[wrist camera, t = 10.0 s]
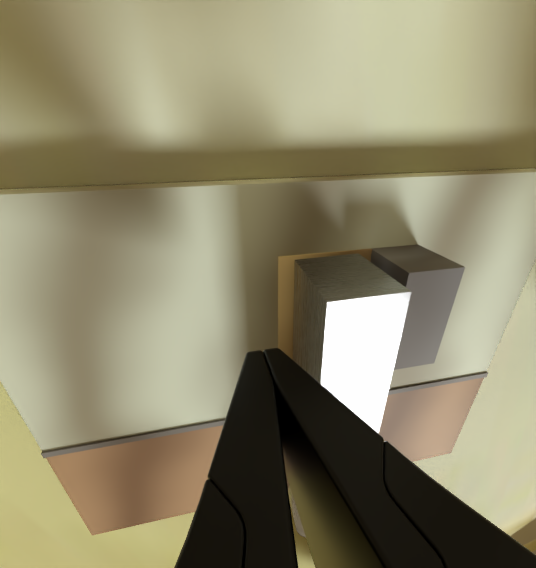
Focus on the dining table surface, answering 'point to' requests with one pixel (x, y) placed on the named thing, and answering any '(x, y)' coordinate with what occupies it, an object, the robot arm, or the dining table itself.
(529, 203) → the door mock-up board
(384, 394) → the bar
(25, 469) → the dining table surface
